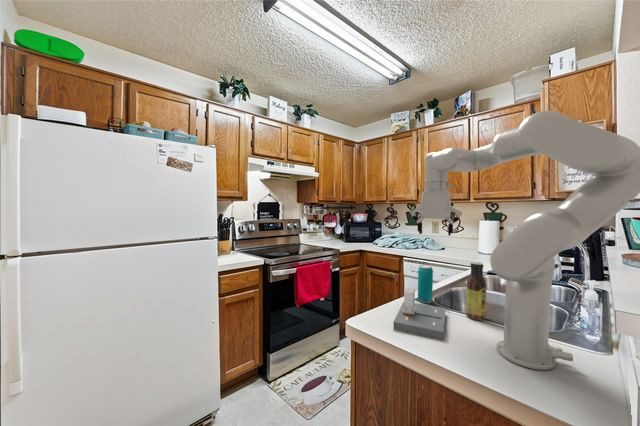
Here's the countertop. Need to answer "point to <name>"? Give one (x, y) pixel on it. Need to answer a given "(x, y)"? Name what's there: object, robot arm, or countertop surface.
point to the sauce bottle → (476, 293)
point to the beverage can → (425, 283)
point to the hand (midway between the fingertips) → (434, 234)
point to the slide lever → (409, 301)
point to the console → (422, 321)
